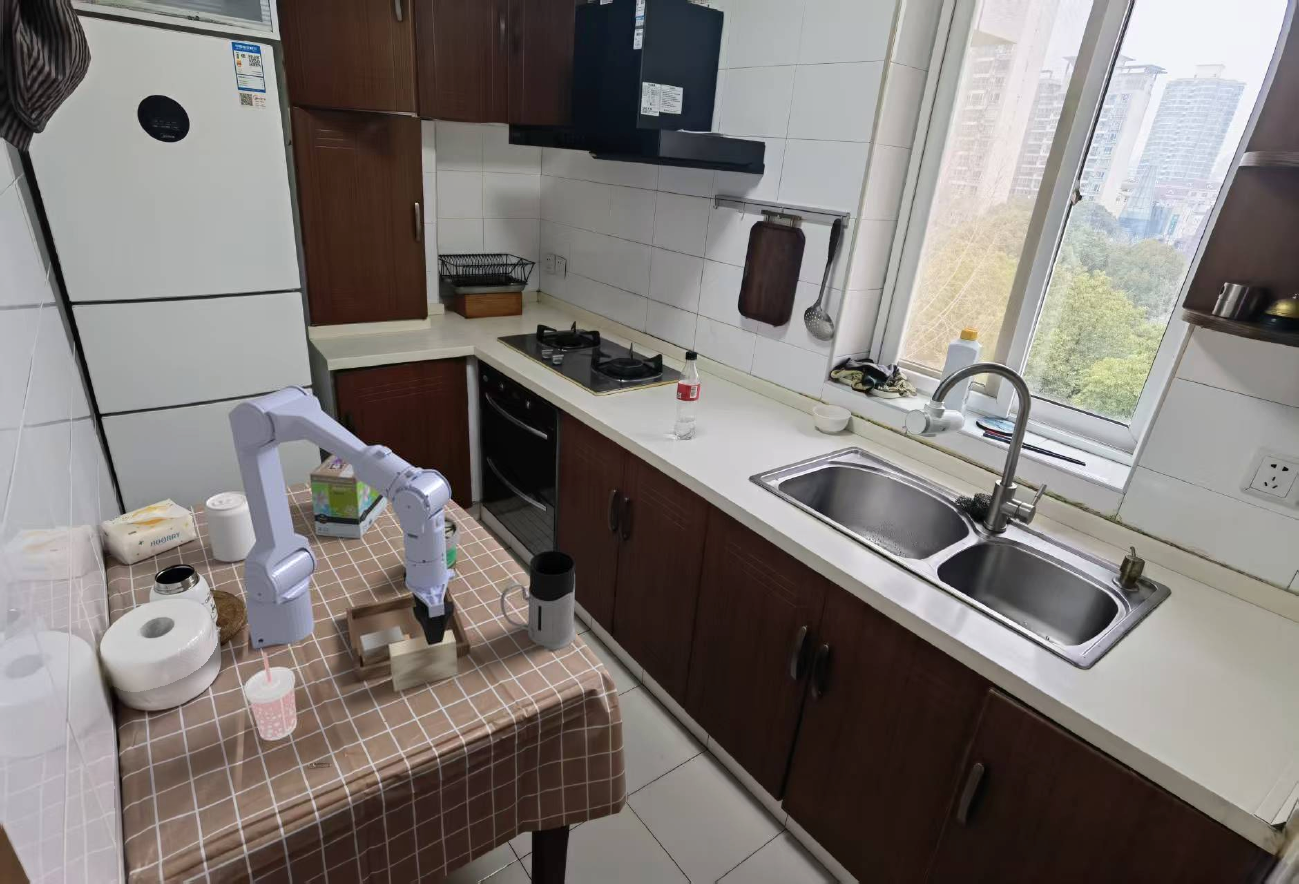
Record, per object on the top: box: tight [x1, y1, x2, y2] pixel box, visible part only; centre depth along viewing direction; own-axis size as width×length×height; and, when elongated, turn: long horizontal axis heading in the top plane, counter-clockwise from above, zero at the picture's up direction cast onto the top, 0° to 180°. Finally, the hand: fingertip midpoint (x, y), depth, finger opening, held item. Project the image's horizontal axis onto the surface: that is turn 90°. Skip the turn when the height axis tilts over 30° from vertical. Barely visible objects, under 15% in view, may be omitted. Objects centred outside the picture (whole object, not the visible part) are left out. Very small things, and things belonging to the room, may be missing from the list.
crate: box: [345, 586, 471, 684], centre depth 115 cm, size 18×17×3 cm
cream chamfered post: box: [389, 630, 458, 692], centre depth 105 cm, size 10×3×7 cm, turn 117°
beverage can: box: [203, 491, 256, 563], centre depth 132 cm, size 8×8×12 cm
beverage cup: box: [243, 651, 298, 741], centre depth 93 cm, size 6×6×14 cm
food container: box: [444, 515, 461, 573], centre depth 131 cm, size 12×6×10 cm, turn 168°
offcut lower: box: [360, 634, 410, 667], centre depth 109 cm, size 8×4×2 cm, turn 117°
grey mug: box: [500, 550, 577, 652], centre depth 114 cm, size 9×14×15 cm, turn 132°
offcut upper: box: [360, 626, 404, 661], centre depth 108 cm, size 6×4×2 cm, turn 121°
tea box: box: [309, 454, 388, 539], centre depth 146 cm, size 15×10×15 cm
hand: (430, 626), depth 104 cm, fingers open, 7 cm apart
